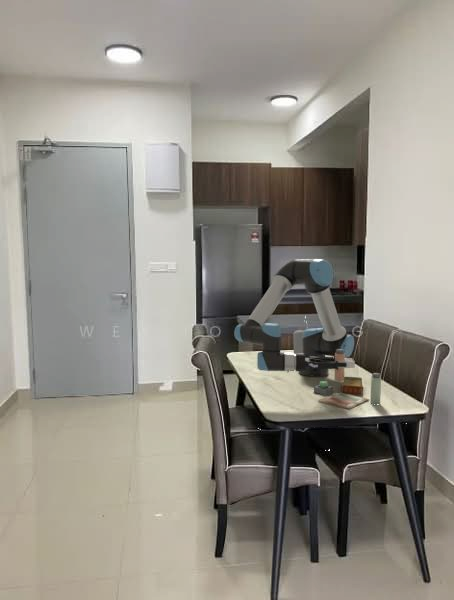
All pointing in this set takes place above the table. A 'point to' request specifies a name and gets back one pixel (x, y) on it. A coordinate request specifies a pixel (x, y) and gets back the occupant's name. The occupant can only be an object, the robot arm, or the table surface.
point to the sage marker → (375, 388)
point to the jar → (299, 339)
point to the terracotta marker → (340, 372)
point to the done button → (323, 384)
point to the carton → (352, 385)
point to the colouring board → (343, 400)
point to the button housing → (323, 390)
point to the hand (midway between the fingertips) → (353, 363)
